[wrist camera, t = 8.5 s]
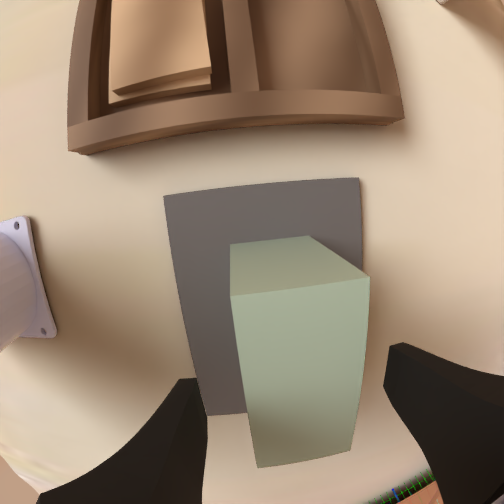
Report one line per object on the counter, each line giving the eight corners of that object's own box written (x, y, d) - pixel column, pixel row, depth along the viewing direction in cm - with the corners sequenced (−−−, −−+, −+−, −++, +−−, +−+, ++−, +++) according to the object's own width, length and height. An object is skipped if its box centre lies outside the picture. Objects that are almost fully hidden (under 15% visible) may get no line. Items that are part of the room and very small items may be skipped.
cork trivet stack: (115, 107, 12) (101, 99, 10) (122, -14, 10) (113, -29, 8) (213, 89, 12) (212, 76, 11) (205, -31, 10) (203, -49, 9)
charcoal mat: (207, 410, 17) (207, 415, 17) (165, 195, 14) (163, 195, 14) (351, 389, 18) (353, 393, 17) (355, 177, 15) (358, 177, 14)
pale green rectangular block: (247, 375, 16) (257, 468, 10) (230, 244, 15) (230, 296, 8) (312, 366, 17) (350, 450, 10) (308, 235, 15) (370, 276, 8)
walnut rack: (85, 155, 13) (64, 151, 11) (97, -16, 10) (85, -32, 8) (386, 125, 14) (407, 118, 12) (343, -36, 11) (354, -53, 9)
